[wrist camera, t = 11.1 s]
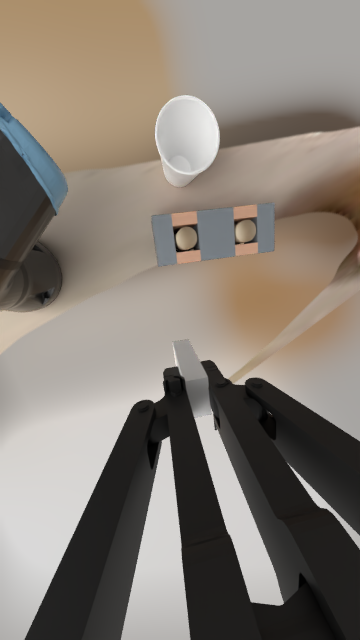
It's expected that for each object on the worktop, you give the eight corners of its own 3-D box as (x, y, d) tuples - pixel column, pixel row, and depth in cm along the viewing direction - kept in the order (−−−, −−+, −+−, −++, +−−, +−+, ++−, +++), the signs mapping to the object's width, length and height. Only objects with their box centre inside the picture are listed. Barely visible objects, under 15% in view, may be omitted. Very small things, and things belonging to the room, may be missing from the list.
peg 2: (226, 245, 45) (237, 242, 39) (225, 226, 44) (236, 220, 38) (243, 243, 45) (256, 240, 40) (242, 224, 44) (255, 218, 38)
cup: (212, 170, 41) (233, 137, 30) (180, 209, 42) (190, 189, 31) (176, 128, 38) (186, 75, 28) (143, 170, 39) (140, 135, 29)
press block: (158, 266, 44) (159, 266, 38) (151, 222, 42) (151, 215, 36) (259, 253, 47) (274, 251, 41) (258, 211, 44) (274, 202, 38)
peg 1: (174, 252, 44) (177, 250, 38) (172, 233, 43) (175, 227, 37) (192, 250, 44) (198, 247, 38) (190, 231, 43) (196, 225, 37)
